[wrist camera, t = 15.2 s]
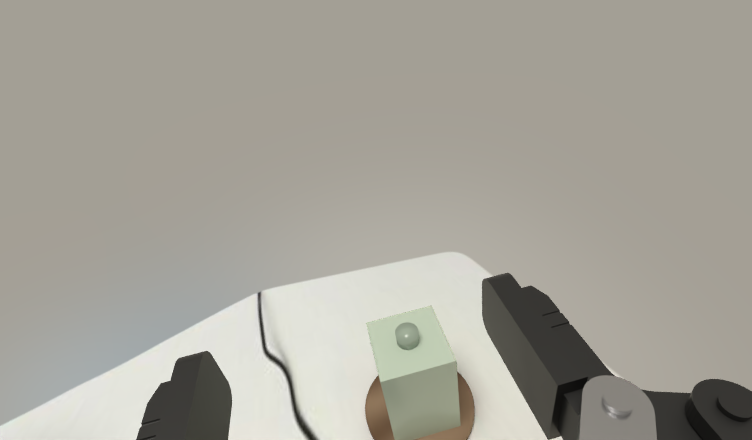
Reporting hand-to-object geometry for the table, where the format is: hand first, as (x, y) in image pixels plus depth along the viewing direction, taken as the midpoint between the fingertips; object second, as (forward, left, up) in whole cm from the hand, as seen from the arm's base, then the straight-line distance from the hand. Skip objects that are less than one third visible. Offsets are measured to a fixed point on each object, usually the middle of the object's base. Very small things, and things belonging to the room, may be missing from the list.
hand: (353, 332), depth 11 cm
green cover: (-10, +11, -29) cm, 33 cm away
